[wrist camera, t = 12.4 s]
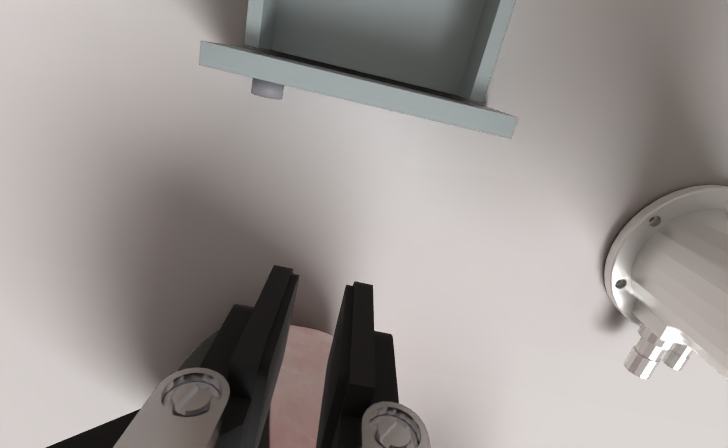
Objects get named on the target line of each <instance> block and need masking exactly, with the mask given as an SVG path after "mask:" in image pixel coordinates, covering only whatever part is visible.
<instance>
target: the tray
mask: <svg viewBox="0 0 728 448" xmlns="http://www.w3.org/2000/svg"><path fill="white" fill-rule="evenodd" d="M515 2H516V0H248V10H247V19H246V29H245V39H244V45H248V46H253V47H257V48H262V49H269V50H274V51H278V52H282V53H286V54H290V55H294V56H298V57H303V58H307V59H311V60H315V61H319V62H323V63H327V64H331V65H335V66H339V67H343V68H348V69H352V70H356V71H360V72H364V73H368V74H372V75H376V76H380V77H384V78H389V79H393V80H397V81H401V82H405V83H409V84H413V85H417V86H421V87H425V88H429V89H434V90H438V91H442V92H446V93H450V94H454V95H458V96H461V97H464V98H467V99H470V100H474V101H478V102H482V103H483V100H484V97H485V94H486V90H487V87H488V84H489V81H490V78H491V75H492V72H493V69H494V66H495V63H496V60H497V57H498V54H499V51H500V48H501V45H502V42H503V38H504V35H505V32H506V29H507V26H508V23H509V20H510V17H511V14H512V11H513V8H514V5H515ZM199 65H202V66H206V67H210V68H214V69H218V70H223V71H227V72H231V73H235V74H239V75H244V76H248V77H252V78H253V81H252V90H251V93H252V94H255V95H258V96H261V97H266V98H271V99H282V96H283V89H284V85H286V86H290V87H294V88H298V89H302V90H307V91H311V92H315V93H319V94H323V95H328V96H332V97H336V98H340V99H344V100H349V101H353V102H357V103H361V104H365V105H370V106H374V107H378V108H382V109H386V110H391V111H395V112H399V113H403V114H407V115H412V116H416V117H420V118H424V119H428V120H433V121H437V122H441V123H445V124H449V125H454V126H458V127H462V128H466V129H470V130H475V131H479V132H483V133H487V134H491V135H496V136H500V137H504V138H508V139H511V138H512V135H513V133H514V130H515V127H516V124H517V122H518V119H519V118H517V117H515V116H512V115H509V114H506V113H503V112H500V111H497V110H495V109H492V108H489V107H485V106H480V105H476V104H472V103H468V102H464V101H460V100H456V99H452V98H448V97H443V96H439V95H435V94H431V93H427V92H423V91H419V90H415V89H411V88H406V87H402V86H398V85H394V84H390V83H386V82H382V81H378V80H374V79H369V78H365V77H361V76H357V75H353V74H349V73H345V72H341V71H337V70H332V69H328V68H324V67H320V66H316V65H312V64H308V63H304V62H300V61H296V60H291V59H287V58H283V57H279V56H275V55H271V54H267V53H263V52H259V51H254V50H250V49H246V48H242V47H238V46H233V45H226V44H220V43H213V42H206V41H201V42H200V57H199Z"/></svg>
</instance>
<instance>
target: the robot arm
mask: <svg viewBox="0 0 728 448" xmlns="http://www.w3.org/2000/svg"><path fill="white" fill-rule="evenodd" d="M604 278H605V287H606V290H607V294H608V296H609V298H610V300H611V301H612V303H613V305H614V306H615V307H616V308H617V309H618V310H619V311H620V312H621V313H622V314H623V315H624V316H625V317H626V318H628V319H629V320H630V321H631V322H633V323H635V324H637V325H639V326H641V327H640V328H639V330H638V333H639V334H640V335H641V339H640V341H639V342H638V344H637V346H634V347H633V349H632V350H631V352H630V354H629V355H628V357H627V359H626V360H625V362H624V366H625V367H626V368H627V370H628V371H630V372H631V373H633V374H634V375H636V376H638V377H640V378H644V379H649V378H650V376H651V375H652V373H653V372H654V370H655V368H656V367H657V365H658V364H659V362H660V358H661V356H662V354H663V353H664V351H665V350H668V351H667V353H666V355H665V356H664V358H663V359H662V361H663V362H664V363H665V364H666V365H667V366H669V367H671V368H673V369H675V370H682V368H683V367H684V365H685V364H686V362H687V361H688V359H689V356H690V354H691V353H692V351H694V352H696V353H697V354H698V355H699V356H700V357H701V358H702V359H704V360H705V361H706V362H707V363H708V364H709V365H710V366H712V367H713V368H714V369H715V370H716V371H717V372H718V373H720V374H721V375H722V376H723V377H724V378H725V379H726V380H728V186H720V185H702V186H693V187H689V188H685V189H682V190H678V191H675V192H673V193H670V194H668V195H666V196H664V197H661V198H659V199H658V200H656V201H654V202H653V203H651V204H650V205H648V206H646V207H645V208H644V209H642V210H641V211H640V212H639V213H638V214H637V215H635V216H634V217H633V218H632V219H631V220H630V221H629V222H628V223H627V224H626V226H625V227H624V228H623V229H622V230H621V231H620V233H619V235H618V236H617V238H616V239H615V241H614V243H613V244H612V246H611V249H610V251H609V254H608V256H607V259H606V265H605V270H604ZM298 280H299V275H295V274H293V269H291V268H286V267H281V266H276V265H274V267H273V269H272V271H271V273H270V275H269V277H268V279H267V282H266V284H265V286H264V288H263V290H262V292H261V295H260V297H259V299H258V301H257V303H256V305H255V307H254V308H253V307H248V306H243V305H237V304H235V305H234V306H233V308H232V309H231V311H230V313H229V315H228V316H227V318H226V320H225V322H224V324H223V325H222V327H221V329H220V331H219V333H218V334H217V336H216V338H215V340H214V342H213V343H212V345H211V347H210V349H209V351H208V352H207V354H206V356H205V358H204V360H203V361H202V363H201V365H200V367H199V368H197V367H196V368H188V369H183V370H180V371H177V372H174V373H173V374H171V375H169V376H168V377H166V378H165V379H164V380H163V381H162V382H161V383H160V384H159V385H158V386H157V387H156V388H155V390H154V391H153V393H152V394H151V395H150V397H149V398H148V400H147V401H146V402H145V404H144V405H143V406H142V408H141V409H139V410H137V411H134V412H132V413H129V414H127V415H124V416H122V417H120V418H117V419H115V420H112V421H110V422H107V423H105V424H102V425H100V426H98V427H95V428H93V429H90V430H88V431H85V432H83V433H80V434H78V435H76V436H73V437H71V438H68V439H66V440H63V441H61V442H58V443H56V444H54V445H51V446H49V447H46V448H258V446H259V442H260V439H261V435H262V432H263V428H264V425H265V421H266V418H267V414H268V411H269V407H270V404H271V400H272V397H273V393H274V390H275V386H276V383H277V379H278V376H279V372H280V369H281V365H282V362H283V358H284V353H285V349H286V344H287V338H288V333H289V328H290V323H291V317H292V312H293V307H294V301H295V296H296V291H297V286H298ZM316 448H431V446H430V441H429V436H428V432H427V430H426V427H425V424H424V423H423V422H422V420H421V419H420V417H419V416H418V415H417V414H416V413H414V412H413V411H412V410H411V409H409V408H407V407H406V406H404V405H402V404H399V400H398V389H397V378H396V368H395V357H394V346H393V337H392V335H391V334H387V333H382V332H377V331H374V310H373V285H370V284H365V283H360V282H355V281H354V284H353V286H350V285H346V288H345V292H344V296H343V300H342V304H341V308H340V312H339V316H338V320H337V325H336V329H335V333H334V337H333V341H332V345H331V349H330V353H329V358H328V362H327V368H326V375H325V382H324V390H323V397H322V405H321V412H320V420H319V427H318V435H317V442H316Z"/></svg>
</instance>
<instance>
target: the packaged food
mask: <svg viewBox="0 0 728 448" xmlns="http://www.w3.org/2000/svg"><path fill="white" fill-rule="evenodd" d="M219 331H220V330H219ZM219 331H217V332H216V333H214V334H213V335H212V336H210V337H209V338H208V339H207V340H205V341H204V342H203V343H202V344H201V345H200V346H199V347H198V348H197V349H196V350H195V351H194V352H193V354H192V355H191V356H190V357H189V358H188V359H187V360H186V361H185V362H184V364H183V365H182V366H181V367H180V369H179V370H178V371H180V370H183V369H188V368H196V367H197V368H199V367H200V365H201V363H202V361H203V360H204V358H205V356H206V354H207V352H208V351H209V349H210V347H211V345H212V343H213V342H214V340H215V338H216V336H217V334H218V333H219ZM332 341H333V336H331V335H329V334H327V333H325V332H322V331H319V330H315V329H311V328H305V327H300V326H294V325H290V328H289V333H288V338H287V344H286V349H285V353H284V358H283V362H282V365H281V369H280V372H279V376H278V379H277V383H276V386H275V390H274V393H273V397H272V400H271V404H270V407H269V411H268V414H267V418H266V421H265V425H264V428H263V432H262V435H261V439H260V442H259V446H258V448H316V442H317V435H318V427H319V420H320V412H321V405H322V397H323V390H324V382H325V375H326V368H327V362H328V358H329V353H330V349H331V345H332Z"/></svg>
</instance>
